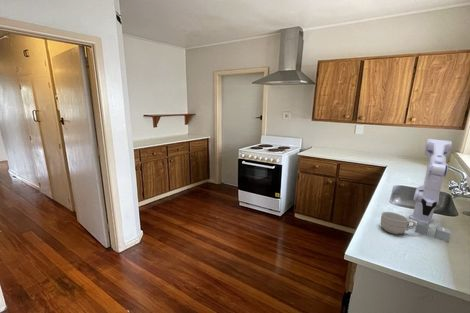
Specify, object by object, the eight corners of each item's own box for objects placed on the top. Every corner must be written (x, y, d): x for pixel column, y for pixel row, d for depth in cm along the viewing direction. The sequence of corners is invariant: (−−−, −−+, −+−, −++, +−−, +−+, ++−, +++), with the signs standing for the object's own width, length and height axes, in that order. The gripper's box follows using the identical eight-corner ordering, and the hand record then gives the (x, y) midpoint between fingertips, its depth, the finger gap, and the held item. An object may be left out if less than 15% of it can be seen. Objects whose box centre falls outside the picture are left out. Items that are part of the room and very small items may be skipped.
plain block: (415, 228, 115) (417, 220, 113) (426, 231, 112) (429, 223, 111) (414, 232, 111) (416, 223, 110) (426, 235, 108) (428, 227, 107)
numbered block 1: (434, 234, 110) (437, 225, 109) (447, 238, 107) (449, 229, 106) (434, 238, 107) (437, 229, 106) (447, 242, 104) (450, 233, 103)
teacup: (377, 231, 111) (380, 216, 109) (380, 222, 119) (383, 208, 117) (413, 242, 102) (417, 226, 101) (413, 232, 111) (417, 217, 109)
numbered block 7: (398, 222, 119) (400, 214, 118) (408, 226, 117) (410, 217, 115) (397, 226, 116) (399, 217, 115) (407, 229, 113) (410, 221, 112)
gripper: (422, 182, 114) (415, 207, 117) (420, 190, 103) (413, 217, 106) (440, 186, 109) (433, 211, 113) (441, 194, 99) (433, 222, 102)
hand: (425, 214), depth 109 cm, fingers closed
